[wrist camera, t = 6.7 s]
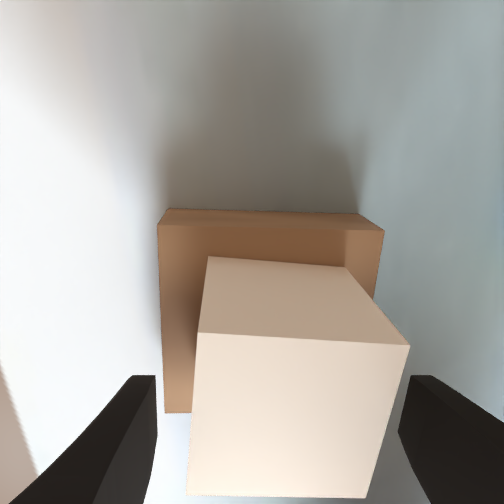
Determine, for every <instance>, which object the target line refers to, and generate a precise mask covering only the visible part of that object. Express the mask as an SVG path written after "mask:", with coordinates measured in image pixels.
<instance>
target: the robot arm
mask: <svg viewBox="0 0 504 504" xmlns="http://www.w3.org/2000/svg"><path fill="white" fill-rule="evenodd" d="M398 434H399V437H400V439H401V442H402V445H403V447H404V450H405V452H406V455H407V457H408V459H409V462H410V464H411V467H412V469H413V471H414V473H415V475H416V477H417V479H418V480H419V482H420V484H421V486H422V488H423V490H424V492H425V493H426V495H427V497H428V499H429V501H430V503H431V504H504V423H503V422H502V421H500V420H499V419H497V418H496V417H494V416H493V415H491V414H490V413H488V412H487V411H485V410H484V409H482V408H481V407H479V406H478V405H476V404H475V403H473V402H472V401H470V400H469V399H467V398H466V397H464V396H463V395H461V394H460V393H458V392H457V391H455V390H454V389H452V388H451V387H449V386H448V385H446V384H445V383H443V382H441V381H440V380H438V379H436V378H435V377H433V376H431V375H411V377H410V381H409V385H408V389H407V394H406V398H405V402H404V407H403V411H402V415H401V420H400V424H399V428H398ZM156 441H157V407H156V379H155V375H132V376H131V377H130V378H129V379H128V380H127V381H126V382H125V384H124V385H123V386H122V387H121V389H120V390H119V391H118V392H117V393H116V395H115V396H114V397H113V398H112V399H111V401H110V402H109V403H108V404H107V405H106V407H105V408H104V409H103V410H102V411H101V412H100V414H99V415H98V416H97V417H96V418H95V419H94V420H93V421H92V422H91V424H90V425H89V426H88V427H87V428H86V429H85V430H84V431H83V432H82V434H81V435H80V436H79V437H78V438H77V439H76V440H75V441H74V442H73V443H72V444H71V445H70V446H69V447H68V448H67V449H66V450H65V451H64V452H63V453H62V454H61V455H60V456H59V457H58V458H57V459H56V460H55V461H54V462H53V463H52V464H51V465H50V466H49V467H48V468H47V469H46V470H45V471H44V472H43V473H42V474H41V475H40V476H39V477H38V478H37V479H36V480H35V481H34V482H32V483H31V484H30V485H29V486H28V487H27V488H26V489H25V490H24V491H23V492H22V493H20V494H19V495H18V496H17V497H16V498H15V499H13V500H12V501H11V502H10V503H9V504H143V502H144V499H145V495H146V491H147V488H148V484H149V480H150V476H151V471H152V466H153V460H154V454H155V447H156Z"/></svg>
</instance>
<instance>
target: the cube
mask: <svg viewBox="0 0 504 504" xmlns="http://www.w3.org/2000/svg"><path fill="white" fill-rule="evenodd" d="M410 346H411V345H410V344H409V343H408V342H407V341H406V339H405V338H404V337H403V336H402V335H401V333H400V332H399V331H398V330H397V329H396V327H395V326H394V325H393V324H392V323H391V321H390V320H389V319H388V318H387V317H386V315H385V314H384V313H383V312H382V311H381V310H380V308H379V307H378V306H377V305H376V304H375V302H374V301H373V300H372V299H371V298H370V296H369V295H368V294H367V293H366V292H365V290H364V289H363V288H362V287H361V286H360V284H359V283H358V282H357V281H356V280H355V278H354V277H353V276H352V275H351V274H350V272H349V271H348V270H347V269H346V268H345V267H335V266H323V265H311V264H299V263H287V262H275V261H263V260H251V259H238V258H226V257H214V256H208V261H207V269H206V276H205V283H204V290H203V297H202V305H201V312H200V319H199V326H198V334H197V348H196V361H195V375H194V389H193V402H192V416H191V430H190V443H189V457H188V471H187V484H186V495H202V496H260V497H318V498H366V495H367V492H368V488H369V485H370V482H371V478H372V475H373V471H374V468H375V465H376V461H377V458H378V455H379V451H380V448H381V444H382V441H383V438H384V434H385V431H386V427H387V424H388V421H389V417H390V414H391V410H392V407H393V404H394V400H395V397H396V393H397V390H398V387H399V383H400V380H401V376H402V373H403V370H404V366H405V363H406V359H407V356H408V353H409V349H410Z"/></svg>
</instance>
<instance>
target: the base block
mask: <svg viewBox="0 0 504 504" xmlns="http://www.w3.org/2000/svg"><path fill="white" fill-rule="evenodd" d="M384 232H385V231H384V230H383V229H381V228H380V227H378V226H377V225H375V224H374V223H372V222H371V221H369V220H368V219H366V218H365V217H363V216H361V215H360V214H343V213H309V212H274V211H240V210H205V209H170V208H168V209H167V211H166V212H165V214H164V215H163V217H162V218H161V220H160V221H159V223H158V224H157V235H158V259H159V284H160V308H161V332H162V357H163V381H164V406H165V413H192V402H193V389H194V375H195V361H196V348H197V334H198V326H199V319H200V312H201V305H202V297H203V290H204V283H205V276H206V269H207V261H208V256H214V257H226V258H238V259H251V260H263V261H275V262H287V263H299V264H311V265H323V266H335V267H345V268H346V269H347V270H348V271H349V272H350V274H351V275H352V276H353V277H354V278H355V280H356V281H357V282H358V283H359V284H360V286H361V287H362V288H363V289H364V290H365V292H366V293H367V294H368V295H369V296H370V298H371V299H372V300H373V296H374V290H375V284H376V278H377V273H378V267H379V261H380V255H381V249H382V244H383V238H384Z"/></svg>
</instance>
